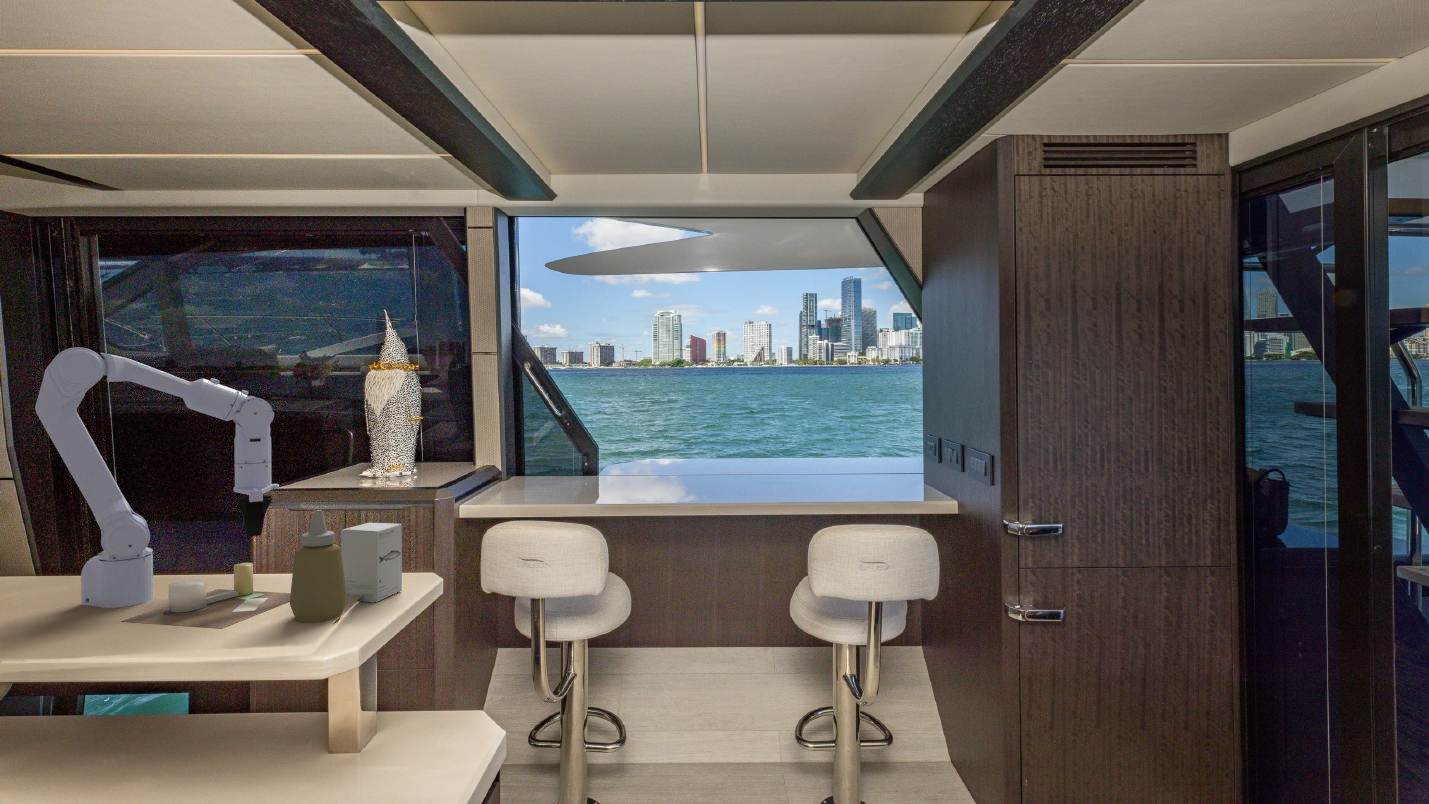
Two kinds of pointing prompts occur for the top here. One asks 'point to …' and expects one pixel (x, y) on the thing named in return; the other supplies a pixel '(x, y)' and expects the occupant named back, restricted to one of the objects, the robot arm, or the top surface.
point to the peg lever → (195, 595)
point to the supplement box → (372, 560)
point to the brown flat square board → (216, 611)
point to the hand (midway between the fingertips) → (253, 535)
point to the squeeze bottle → (318, 575)
